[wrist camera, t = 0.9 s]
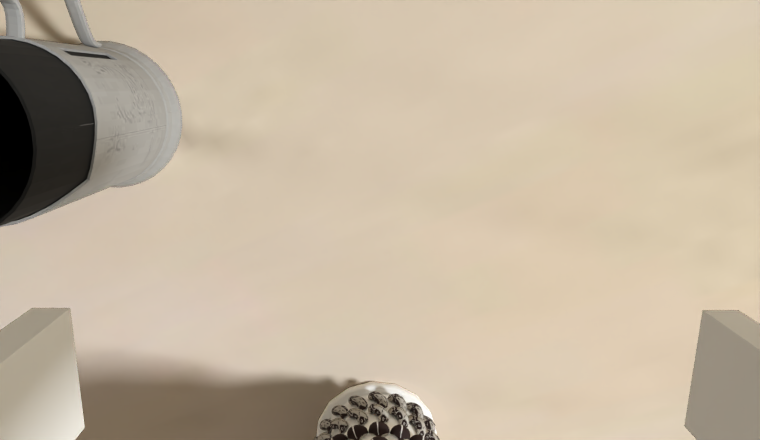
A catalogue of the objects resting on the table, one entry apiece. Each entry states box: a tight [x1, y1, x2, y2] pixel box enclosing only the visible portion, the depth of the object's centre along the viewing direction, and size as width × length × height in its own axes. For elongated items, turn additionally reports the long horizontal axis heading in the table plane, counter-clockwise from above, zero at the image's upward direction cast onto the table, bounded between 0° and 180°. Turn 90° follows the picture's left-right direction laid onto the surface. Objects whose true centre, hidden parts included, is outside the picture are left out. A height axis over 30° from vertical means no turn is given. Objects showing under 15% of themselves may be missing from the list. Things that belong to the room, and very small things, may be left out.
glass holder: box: [0, 0, 182, 227], centre depth 28 cm, size 9×14×15 cm, turn 173°
